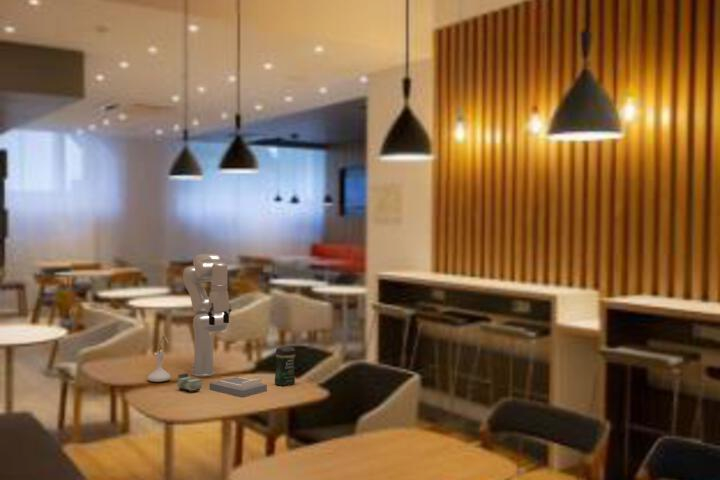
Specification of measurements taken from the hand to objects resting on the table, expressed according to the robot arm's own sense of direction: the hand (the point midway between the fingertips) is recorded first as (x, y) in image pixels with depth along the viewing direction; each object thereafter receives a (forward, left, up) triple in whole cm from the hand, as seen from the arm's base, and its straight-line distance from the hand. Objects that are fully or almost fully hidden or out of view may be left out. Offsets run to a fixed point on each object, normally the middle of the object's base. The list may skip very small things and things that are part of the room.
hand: (219, 323), depth 354 cm
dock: (+14, 0, -30) cm, 33 cm away
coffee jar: (+22, +24, -30) cm, 45 cm away
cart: (-2, -16, -30) cm, 34 cm away
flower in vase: (-29, -12, -30) cm, 44 cm away
